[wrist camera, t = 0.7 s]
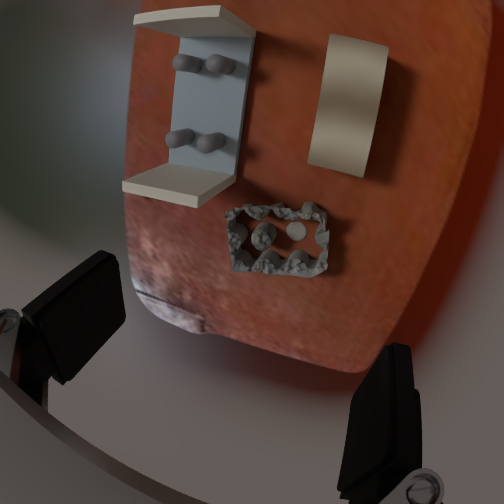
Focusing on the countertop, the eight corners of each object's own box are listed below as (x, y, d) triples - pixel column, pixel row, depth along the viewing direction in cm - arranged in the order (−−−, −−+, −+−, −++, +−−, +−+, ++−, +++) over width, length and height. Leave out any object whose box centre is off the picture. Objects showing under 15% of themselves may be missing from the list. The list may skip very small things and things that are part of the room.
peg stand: (185, 30, 25) (134, 14, 18) (256, 30, 24) (220, 5, 16) (171, 169, 34) (122, 191, 26) (235, 181, 32) (197, 208, 24)
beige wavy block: (332, 43, 23) (329, 33, 19) (383, 55, 22) (388, 47, 18) (312, 156, 29) (307, 163, 25) (361, 169, 28) (362, 178, 24)
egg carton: (330, 199, 30) (328, 212, 27) (329, 264, 33) (326, 283, 30) (232, 198, 33) (218, 209, 30) (239, 258, 37) (227, 275, 33)
